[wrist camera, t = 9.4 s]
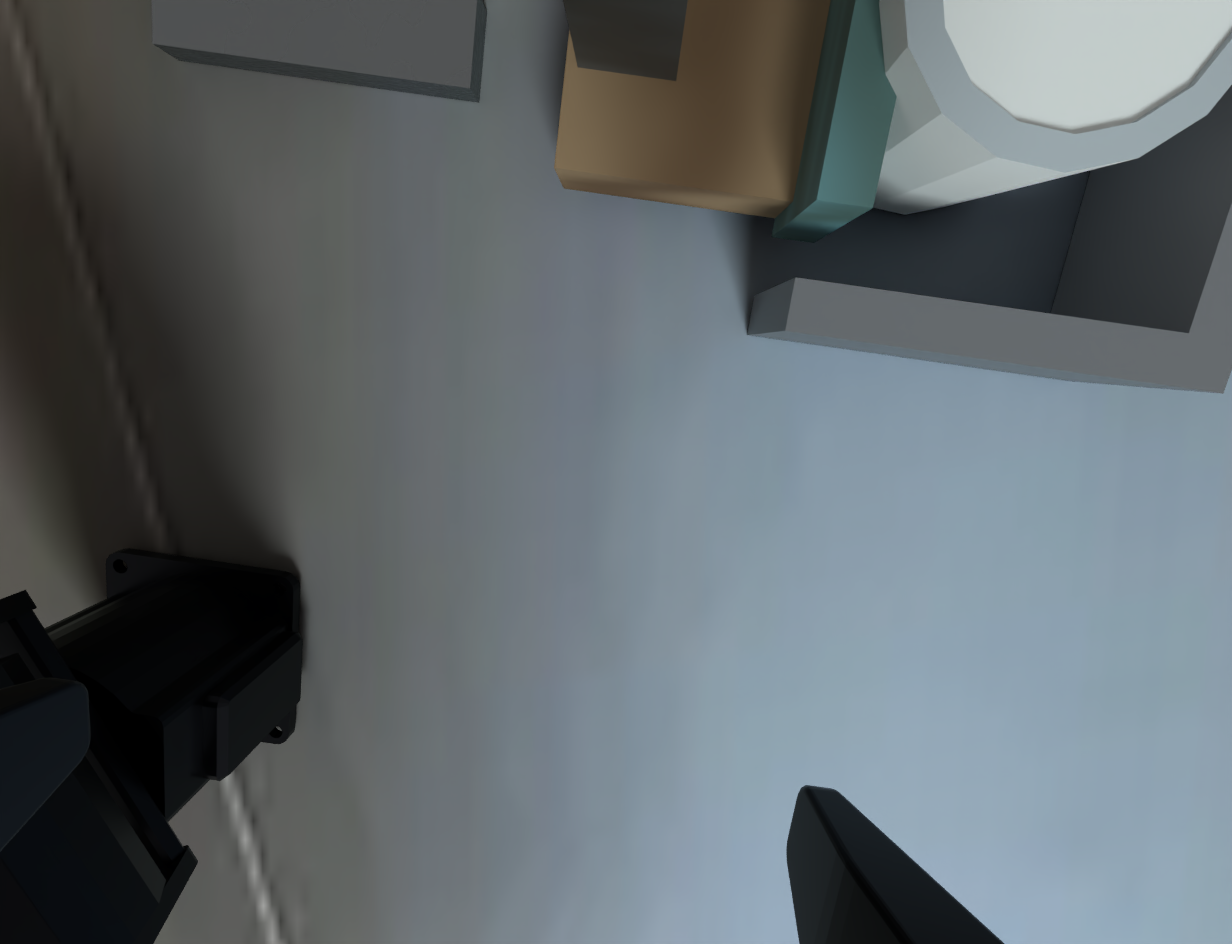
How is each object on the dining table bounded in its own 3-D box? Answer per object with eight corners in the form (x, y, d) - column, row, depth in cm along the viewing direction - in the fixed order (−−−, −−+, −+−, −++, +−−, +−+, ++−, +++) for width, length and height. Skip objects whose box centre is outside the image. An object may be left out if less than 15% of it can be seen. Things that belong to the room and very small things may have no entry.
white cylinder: (805, -27, 17) (927, -283, 10) (1055, -26, 17) (1355, -286, 10) (788, 235, 18) (884, 169, 11) (1018, 237, 18) (1256, 172, 11)
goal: (747, 334, 19) (785, 330, 14) (839, -175, 16) (926, -401, 11) (1071, 381, 19) (1223, 393, 14) (1219, -123, 16) (1473, -327, 11)
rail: (178, 59, 18) (152, 43, 17) (177, -32, 17) (150, -56, 16) (479, 102, 18) (469, 88, 17) (487, 10, 17) (477, -9, 16)
